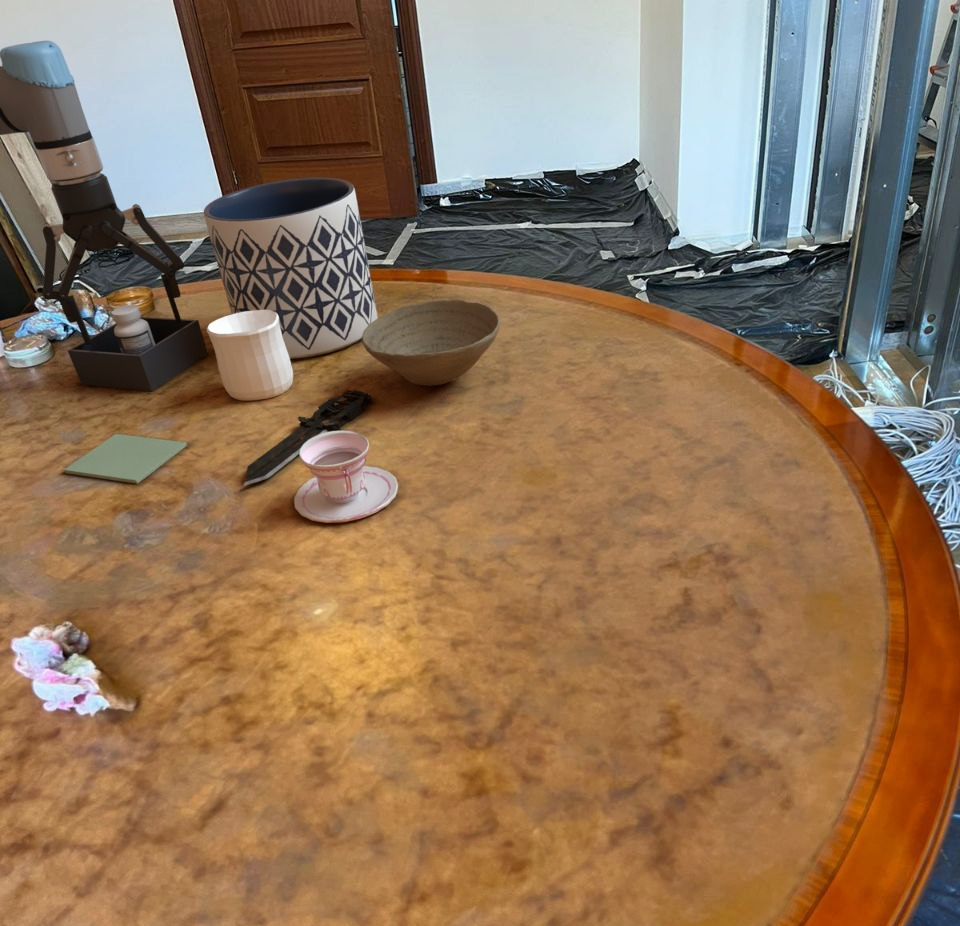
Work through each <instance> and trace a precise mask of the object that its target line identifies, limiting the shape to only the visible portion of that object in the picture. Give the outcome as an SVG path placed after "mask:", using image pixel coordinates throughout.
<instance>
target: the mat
mask: <svg viewBox="0 0 960 926" xmlns="http://www.w3.org/2000/svg"><path fill="white" fill-rule="evenodd" d="M186 447H188V444H187V441H180V440H179V441H177V440H171V439H170V440H169V439H161V438H154V437H146V436H139V435H138V436H137V435H129V434H121V433H115V434H114V435H113V434H112V436H110V437H109V438H108V439H106V440H105V441H103V442H102V443H100V444H99V445H98V446H96V447H94V448H93V449H92V450H91V451H89V452H87V453H86V454H84V455H83V456H82V457H80V458H79V459H77V460H76V461H74V462H72V464H70V465H68V466H67V467H66V468H64V469H63V471H64V473H65V474H69V475H76V476H83V477H90V478H95V479H96V478H97V479H103V480H110V481H115V482H124V483H128V484H129V483H130V484H139V483H141V482H142V481H143V480H144V479H145V478H147V477H148V476H150V475H152V474H153V472H155V471H156V470H158V469H159V468H160V467H161V466H163V465H164V464H165V463H167V462H168V461H169V460H171V459H172V458H173V457H174V456H176V455H177V454H179V453H180V452H181V451H182V450H183V449H185V448H186Z"/></svg>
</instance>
